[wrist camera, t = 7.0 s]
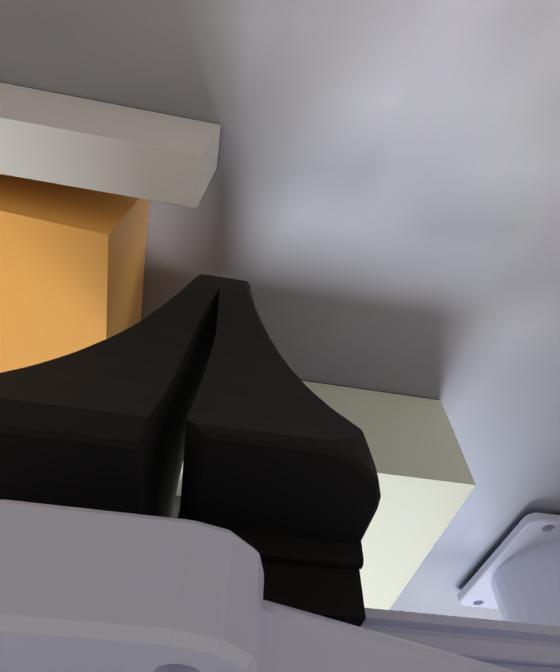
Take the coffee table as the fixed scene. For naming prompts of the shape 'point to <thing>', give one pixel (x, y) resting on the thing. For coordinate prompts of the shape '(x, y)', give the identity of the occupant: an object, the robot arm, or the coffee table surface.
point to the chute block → (66, 268)
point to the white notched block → (354, 404)
